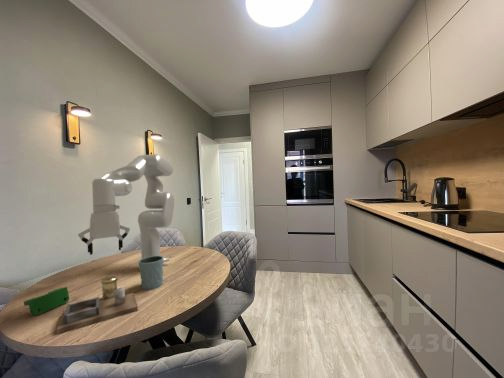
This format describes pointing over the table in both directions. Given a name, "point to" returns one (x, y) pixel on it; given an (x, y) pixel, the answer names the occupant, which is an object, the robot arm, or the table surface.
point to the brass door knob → (109, 287)
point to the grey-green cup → (151, 272)
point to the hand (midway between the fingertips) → (106, 251)
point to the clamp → (47, 301)
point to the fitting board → (96, 310)
